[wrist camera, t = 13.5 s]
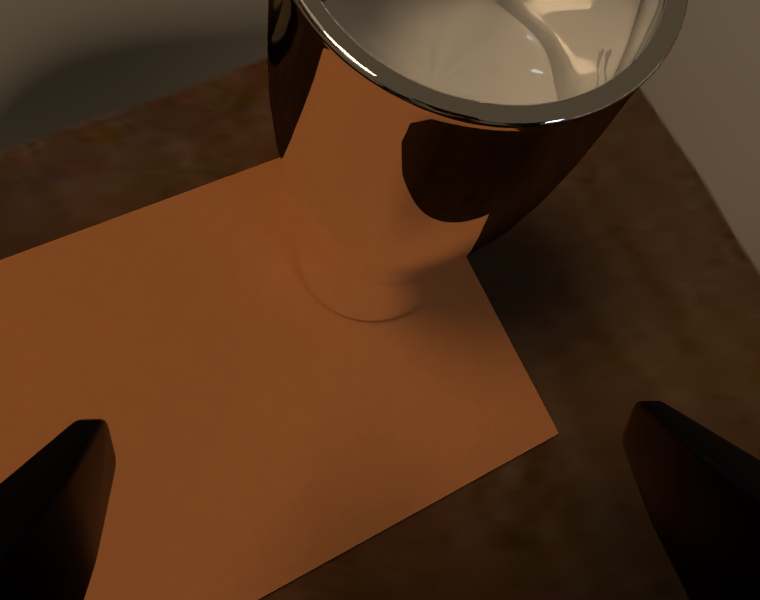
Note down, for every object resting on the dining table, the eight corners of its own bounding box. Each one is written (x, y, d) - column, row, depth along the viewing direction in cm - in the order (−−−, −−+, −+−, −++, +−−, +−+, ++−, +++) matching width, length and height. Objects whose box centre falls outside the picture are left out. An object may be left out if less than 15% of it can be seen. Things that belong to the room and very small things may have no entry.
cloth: (45, 714, 18) (39, 720, 18) (-98, 300, 20) (-105, 298, 20) (555, 433, 23) (559, 433, 22) (390, 120, 25) (392, 115, 24)
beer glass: (450, 175, 24) (674, -214, 10) (456, 334, 22) (737, 153, 8) (286, 165, 23) (264, -282, 9) (280, 331, 22) (240, 118, 7)
